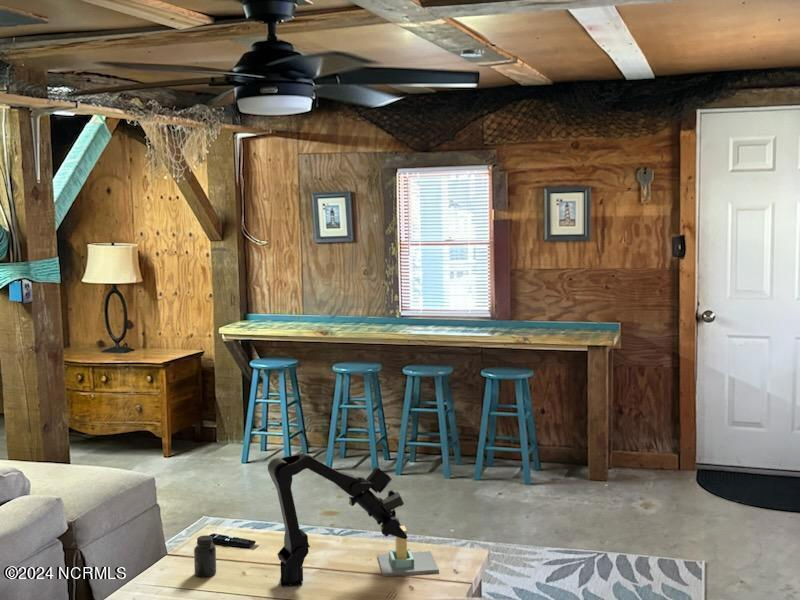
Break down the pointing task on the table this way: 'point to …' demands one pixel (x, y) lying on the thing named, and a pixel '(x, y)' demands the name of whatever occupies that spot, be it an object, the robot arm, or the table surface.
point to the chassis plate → (407, 563)
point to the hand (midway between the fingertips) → (405, 535)
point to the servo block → (401, 546)
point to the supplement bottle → (205, 557)
